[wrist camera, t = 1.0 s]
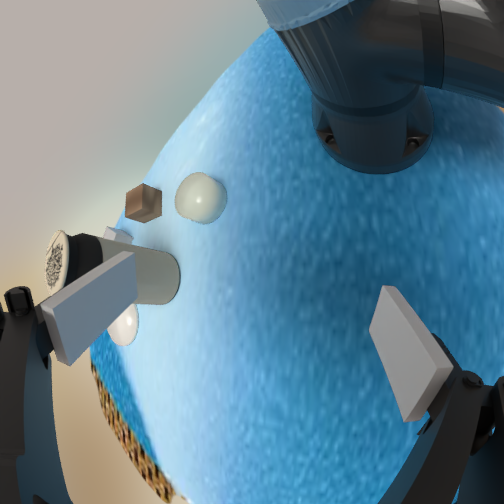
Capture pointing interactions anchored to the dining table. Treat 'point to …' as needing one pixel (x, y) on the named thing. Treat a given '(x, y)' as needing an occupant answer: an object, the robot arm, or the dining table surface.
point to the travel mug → (99, 251)
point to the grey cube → (117, 235)
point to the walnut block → (143, 203)
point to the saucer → (125, 327)
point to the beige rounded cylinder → (200, 198)
